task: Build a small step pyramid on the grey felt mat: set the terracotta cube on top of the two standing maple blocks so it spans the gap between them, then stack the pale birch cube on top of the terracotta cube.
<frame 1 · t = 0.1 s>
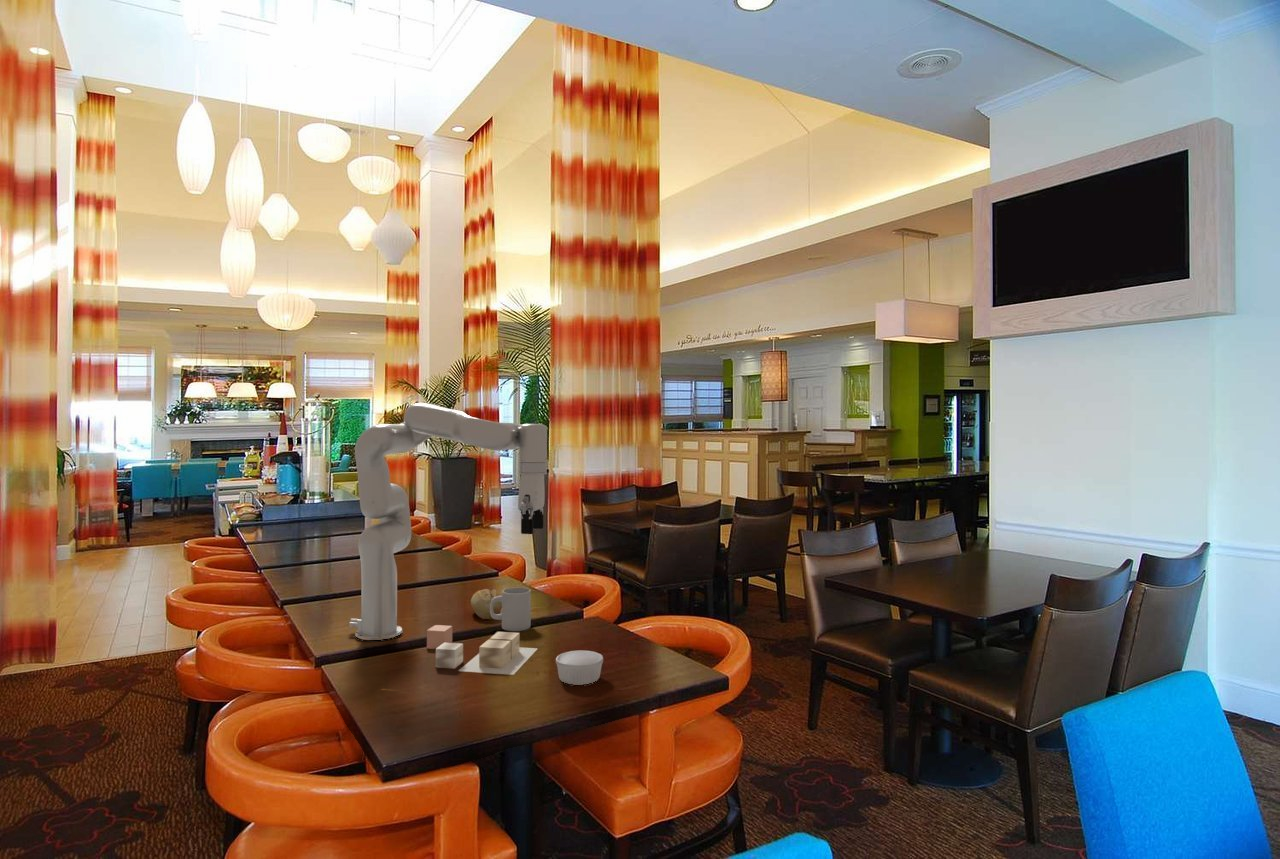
hand: (532, 531, 193), 31 cm above the table, tool pointing down, fingers open, 9 cm apart
bread roll: (486, 615, 222), on the table
birch cube: (449, 666, 175), on the table
maple block 2: (504, 654, 183), resting on felt mat
ramekin: (579, 680, 167), on the table
felt mat: (499, 660, 180), on the table
maple block 1: (495, 663, 176), resting on felt mat
terracotta cube: (439, 646, 191), on the table
mug: (510, 628, 208), on the table
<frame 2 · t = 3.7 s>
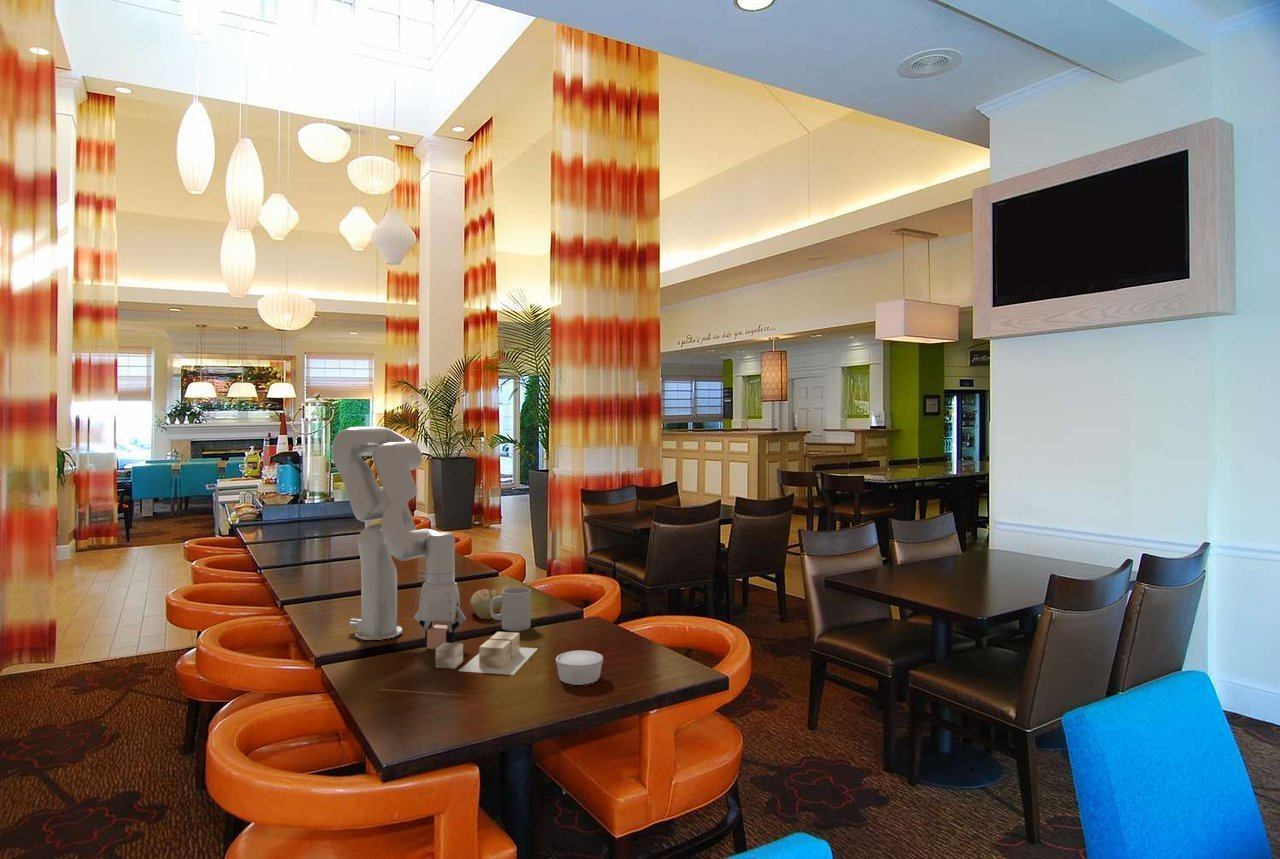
hand: (439, 644, 191), 0 cm above the table, tool pointing down, fingers closed on terracotta cube, 4 cm apart
terracotta cube: (439, 646, 191), on the table, touching gripper
everything else where it was.
when the fingers open (7 cm above the table, at t = 8.8 s): terracotta cube drops 1 cm, resting on maple block 2, maple block 1.
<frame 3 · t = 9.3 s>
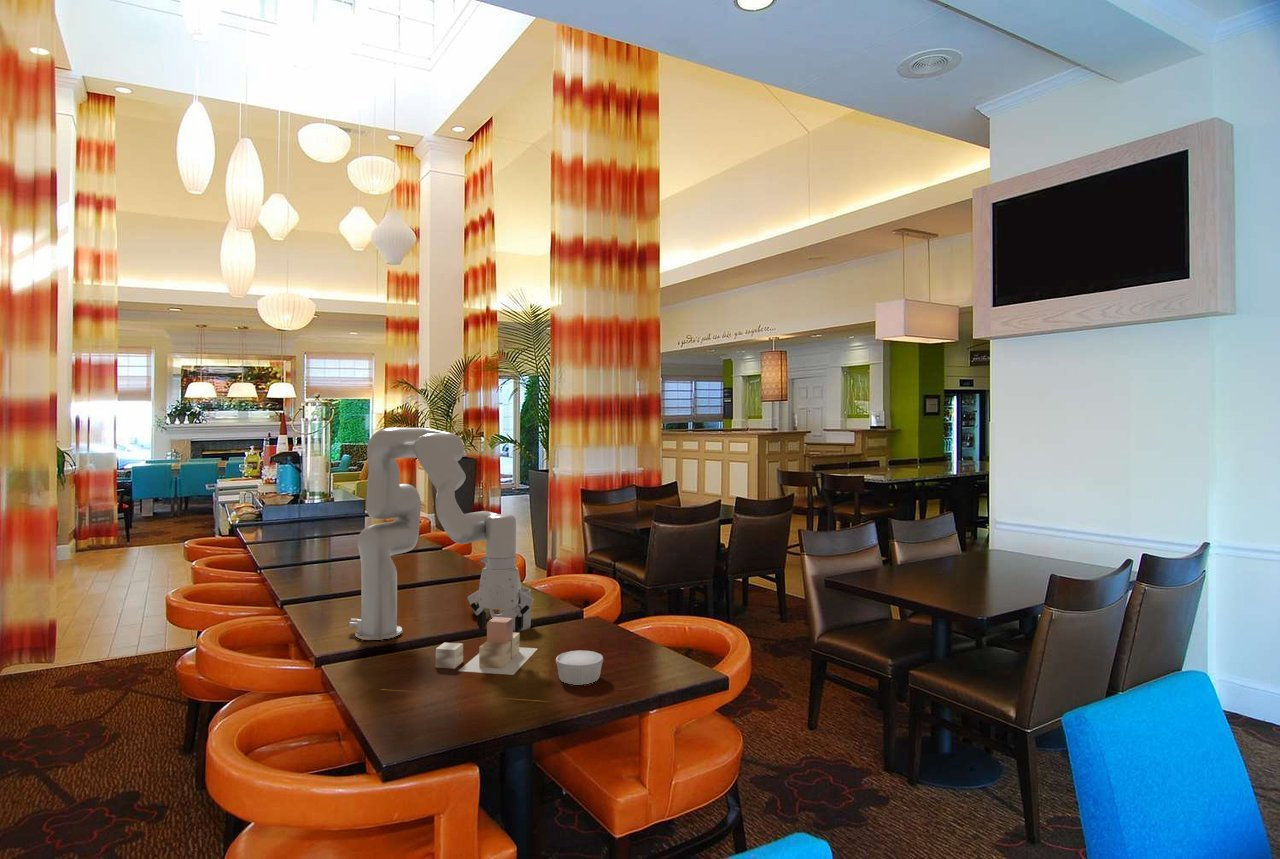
hand: (500, 629, 180), 8 cm above the table, tool pointing down, fingers open, 9 cm apart
maple block 2: (504, 654, 183), resting on felt mat, touching terracotta cube
maple block 1: (495, 663, 176), resting on felt mat, touching terracotta cube
terracotta cube: (499, 639, 180), point 5 cm above the table, touching maple block 2, maple block 1
everything else where it was.
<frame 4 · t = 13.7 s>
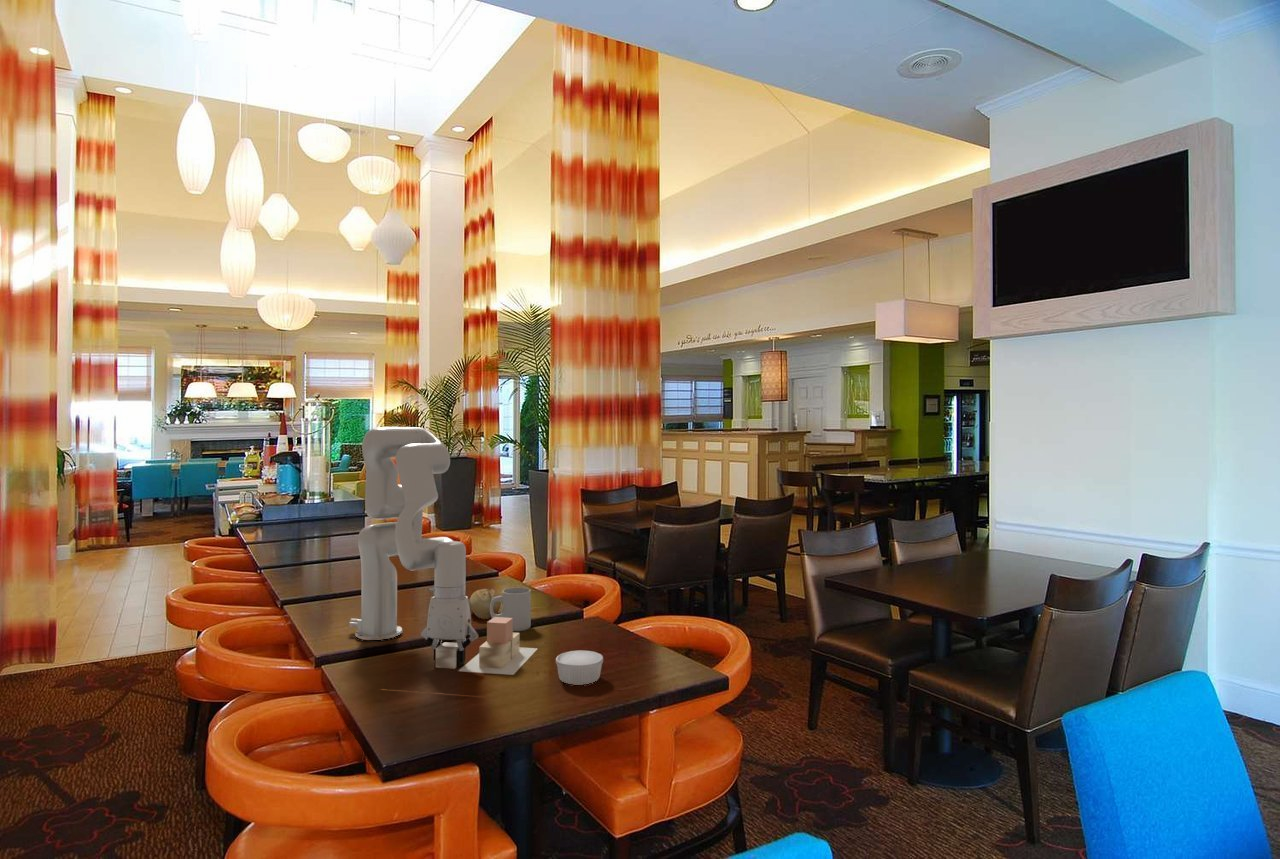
hand: (449, 663, 175), 0 cm above the table, tool pointing down, fingers closed on birch cube, 4 cm apart
birch cube: (449, 665, 175), on the table, touching gripper
everything else where it was.
when the fingers open (12 cm above the table, at t = 18.3 s): birch cube drops 1 cm, resting on terracotta cube.
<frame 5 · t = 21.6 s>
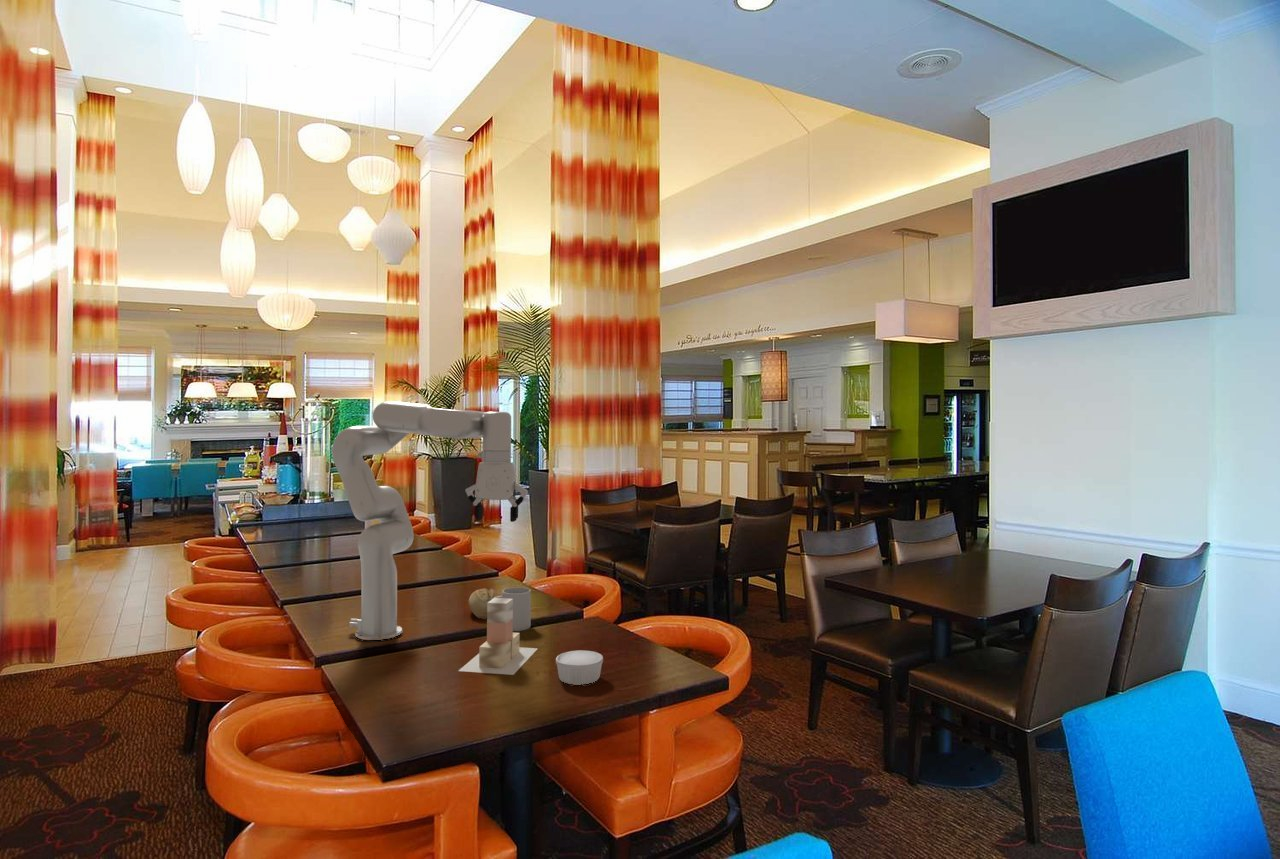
hand: (496, 520, 190), 34 cm above the table, tool pointing down, fingers open, 9 cm apart
birch cube: (500, 620, 180), point 10 cm above the table, touching terracotta cube
terracotta cube: (499, 639, 180), point 5 cm above the table, touching birch cube, maple block 2, maple block 1
at the end: terracotta cube 0.1 cm off-centre on the felt mat, point 5.3 cm above the felt mat's base; birch cube 0.1 cm from the terracotta cube (horizontally); birch cube point 10.3 cm above the table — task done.
